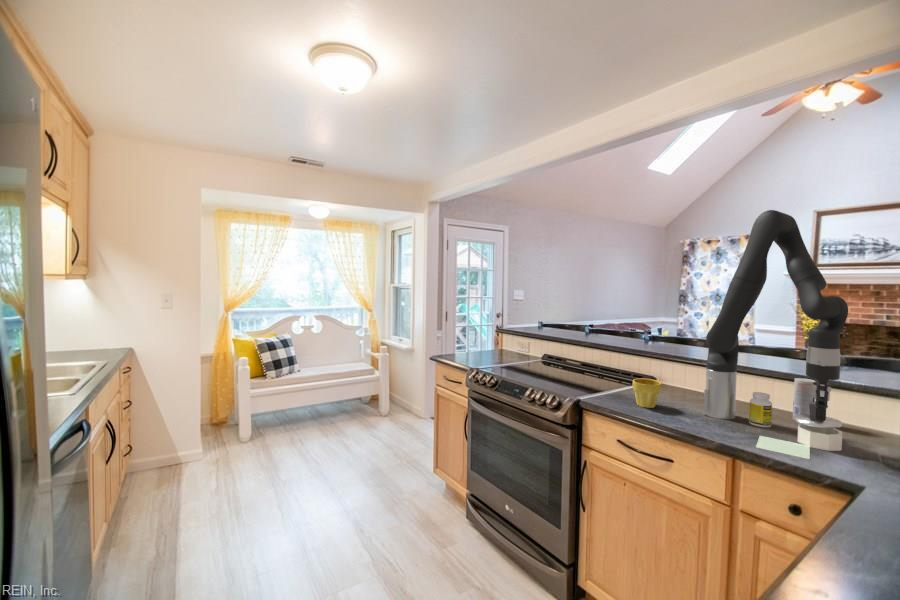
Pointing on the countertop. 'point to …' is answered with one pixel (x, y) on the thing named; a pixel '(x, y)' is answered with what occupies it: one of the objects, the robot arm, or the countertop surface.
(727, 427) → the countertop surface
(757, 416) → the pill bottle
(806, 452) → the mat
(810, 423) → the lid
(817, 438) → the bowl
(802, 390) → the beverage can
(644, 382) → the plant pot
